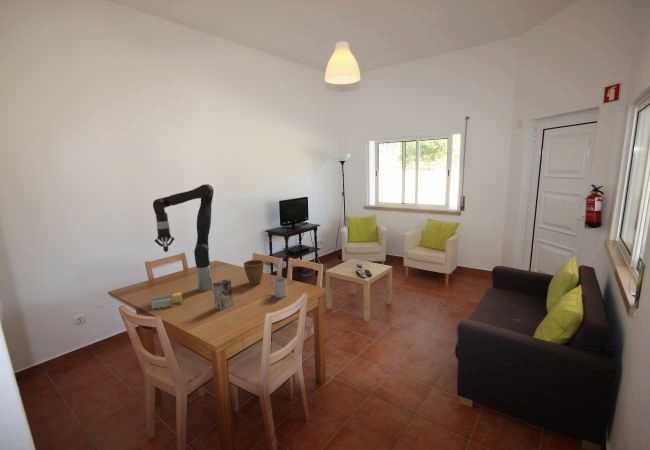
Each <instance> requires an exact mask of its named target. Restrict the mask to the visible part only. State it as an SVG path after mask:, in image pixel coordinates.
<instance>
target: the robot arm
mask: <svg viewBox="0 0 650 450" xmlns="http://www.w3.org/2000/svg"><path fill="white" fill-rule="evenodd" d="M213 197H214V188H213V186H212V185H210V184H208V183H206V184H202V185H200V186H198V187H196V188H193V189H191V190H188V191H183V192H178V193H174V194H172V195H169V196H165V197H160V198H157V199H155V200H153V203H152V207H153V211H154V214H155V219H156V231H157V237H156V238H155V239H154V242H155V243H156V244H158V246H159V247H162V248H163V252H165V253H167V252H168V251H169V246H171V244H173V242H174V240H175V237H174V236H172V234H171V231H170V229H171V228H170V222H169V219H168V213H167V212H166V210H165V209H166V208H168V207H172V206H176V205H177V206H178V205H180V204H183V203H187V202H189V201H193V200H196V199H197V200H198V199H200V204H199V205H200V206H199V209H198V212H197V216H196V235H197V239H196V245H195V248H194V251H193V254H194V262H195V267H196V276H197V286H198V288H197V289H198V291H200V292H205V291H210V290H213V281H212V271H211V262H210V256H209V255H210V254H209V253H210V252H209V250H210V249H209V235H210V231H211V224H212V203H213Z"/></svg>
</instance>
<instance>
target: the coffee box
mask: <svg viewBox="0 0 650 450" xmlns="http://www.w3.org/2000/svg"><path fill="white" fill-rule="evenodd" d="M212 290H213V299H214V307H215V309H218V310H221V311H222V310H225V309H227V308H229V307H230V306H233V305H234V302H233V291H232V290H233V289H232V282H231V280H228V279H222V280H219V281H217V282H214V283H212Z"/></svg>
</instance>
